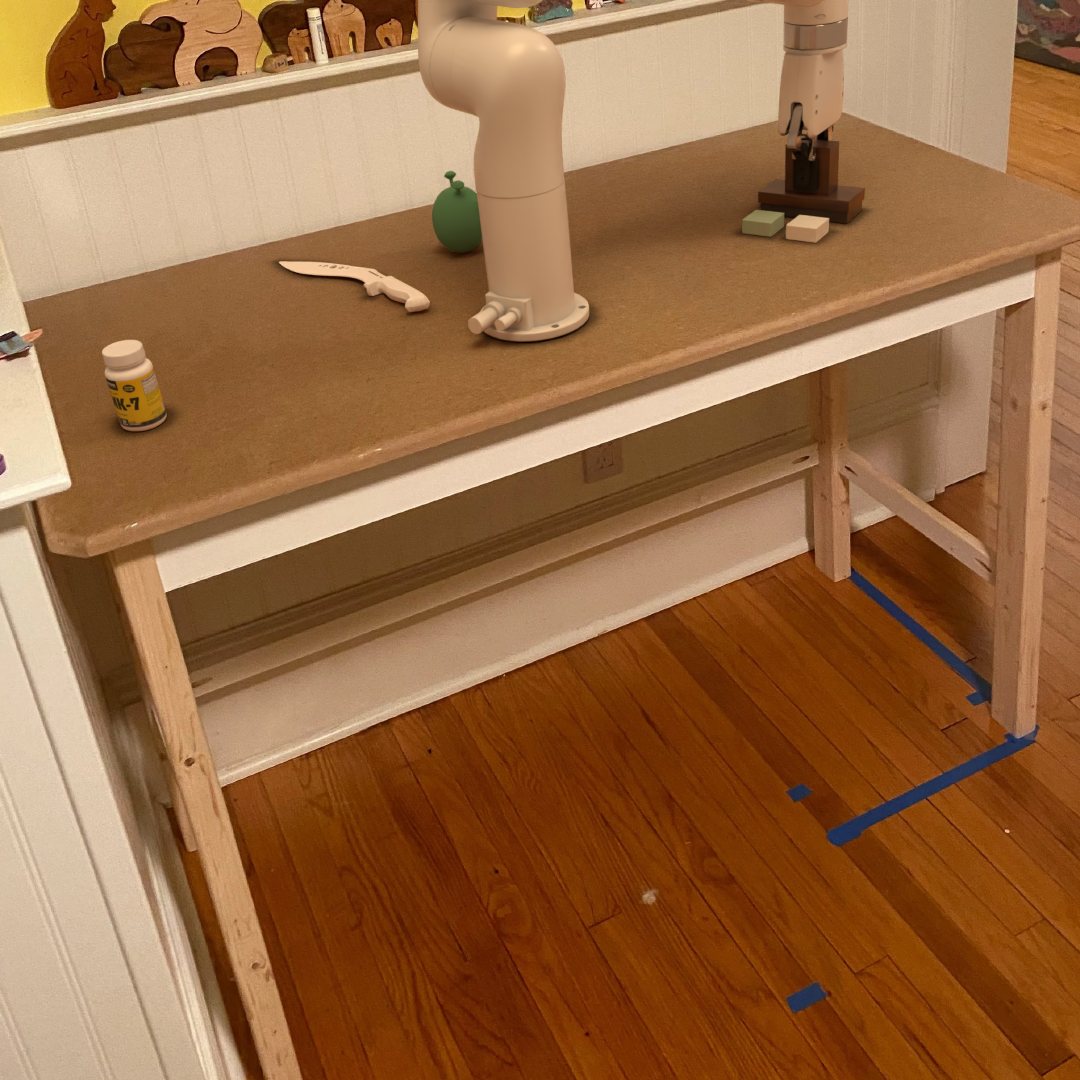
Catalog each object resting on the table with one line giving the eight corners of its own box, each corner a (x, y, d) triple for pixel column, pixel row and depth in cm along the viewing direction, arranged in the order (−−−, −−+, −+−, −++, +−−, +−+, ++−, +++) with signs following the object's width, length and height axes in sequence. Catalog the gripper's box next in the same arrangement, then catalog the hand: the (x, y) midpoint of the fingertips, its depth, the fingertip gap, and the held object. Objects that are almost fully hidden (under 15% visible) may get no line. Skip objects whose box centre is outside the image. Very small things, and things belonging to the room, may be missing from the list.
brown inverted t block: (847, 224, 154) (851, 153, 149) (757, 214, 160) (758, 145, 155) (864, 210, 158) (867, 140, 153) (775, 200, 164) (776, 133, 159)
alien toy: (501, 253, 157) (492, 176, 152) (444, 265, 156) (432, 187, 150) (487, 237, 163) (478, 162, 157) (431, 248, 161) (420, 172, 156)
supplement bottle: (111, 430, 125) (87, 356, 121) (139, 409, 129) (116, 336, 124) (150, 434, 124) (126, 359, 119) (176, 412, 127) (155, 339, 123)
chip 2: (815, 243, 150) (816, 228, 149) (785, 239, 152) (785, 225, 151) (828, 232, 153) (829, 218, 152) (799, 228, 155) (799, 214, 154)
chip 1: (770, 237, 153) (771, 223, 152) (741, 233, 155) (741, 219, 154) (784, 226, 156) (784, 212, 155) (755, 222, 158) (755, 209, 157)
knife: (275, 256, 162) (328, 239, 165) (278, 268, 163) (330, 251, 166) (372, 315, 139) (431, 294, 142) (375, 328, 140) (433, 308, 143)
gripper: (813, 18, 154) (809, 163, 164) (757, 50, 143) (756, 203, 153) (870, 20, 150) (863, 168, 160) (817, 52, 139) (812, 209, 150)
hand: (811, 184), depth 157 cm, fingers closed on brown inverted t block, 3 cm apart
